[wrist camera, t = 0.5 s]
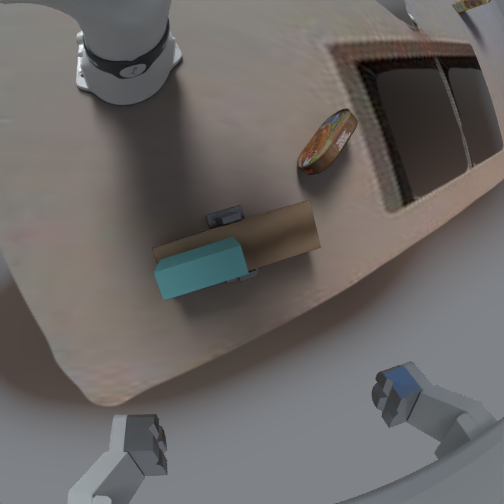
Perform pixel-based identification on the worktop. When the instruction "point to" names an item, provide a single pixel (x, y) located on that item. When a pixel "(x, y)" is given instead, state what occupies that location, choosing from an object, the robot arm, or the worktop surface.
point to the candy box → (468, 4)
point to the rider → (200, 268)
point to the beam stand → (224, 219)
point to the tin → (327, 142)
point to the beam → (258, 236)
